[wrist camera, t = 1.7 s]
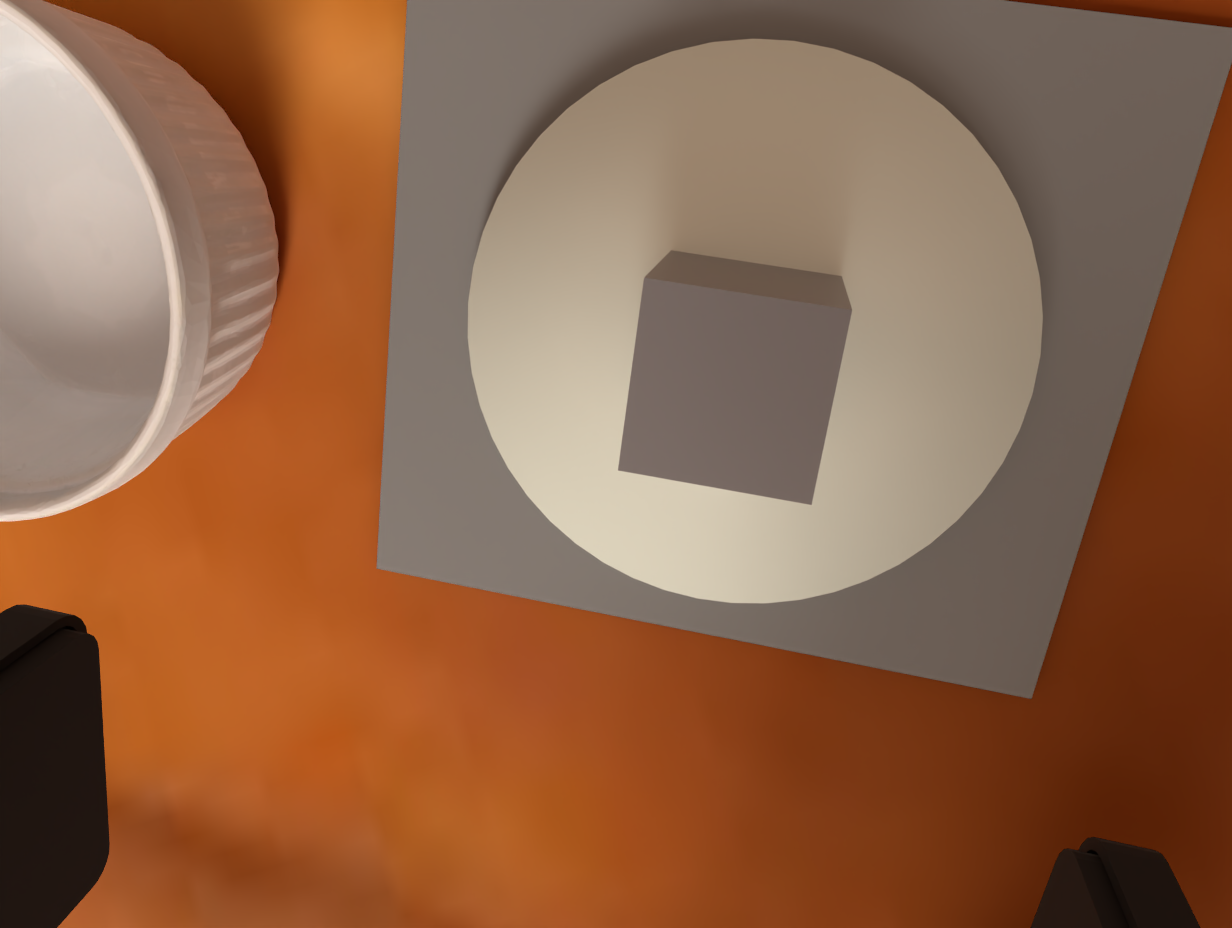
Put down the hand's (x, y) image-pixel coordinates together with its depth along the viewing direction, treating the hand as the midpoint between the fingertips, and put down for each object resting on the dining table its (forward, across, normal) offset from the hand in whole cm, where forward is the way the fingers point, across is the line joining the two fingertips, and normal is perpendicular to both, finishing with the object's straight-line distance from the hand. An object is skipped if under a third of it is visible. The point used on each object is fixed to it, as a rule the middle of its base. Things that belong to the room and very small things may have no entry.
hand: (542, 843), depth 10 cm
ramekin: (+20, +18, 0) cm, 27 cm away
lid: (+19, -1, -1) cm, 19 cm away
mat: (+20, -1, -1) cm, 20 cm away
